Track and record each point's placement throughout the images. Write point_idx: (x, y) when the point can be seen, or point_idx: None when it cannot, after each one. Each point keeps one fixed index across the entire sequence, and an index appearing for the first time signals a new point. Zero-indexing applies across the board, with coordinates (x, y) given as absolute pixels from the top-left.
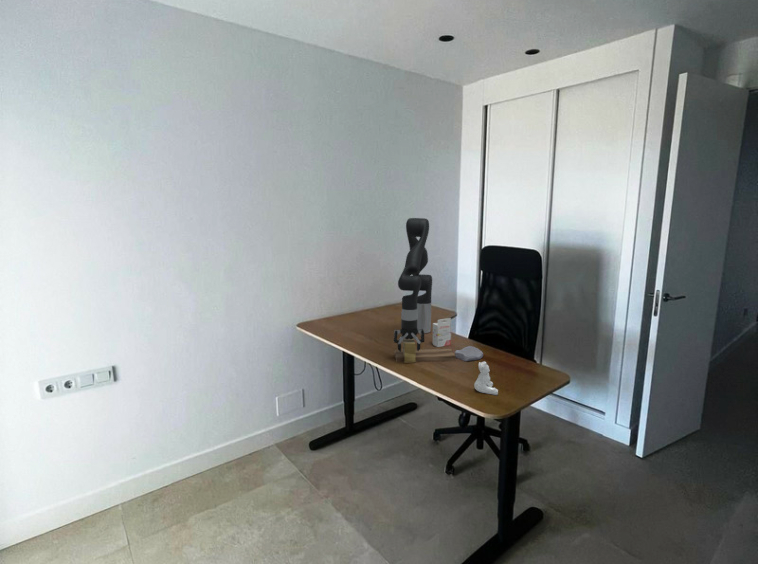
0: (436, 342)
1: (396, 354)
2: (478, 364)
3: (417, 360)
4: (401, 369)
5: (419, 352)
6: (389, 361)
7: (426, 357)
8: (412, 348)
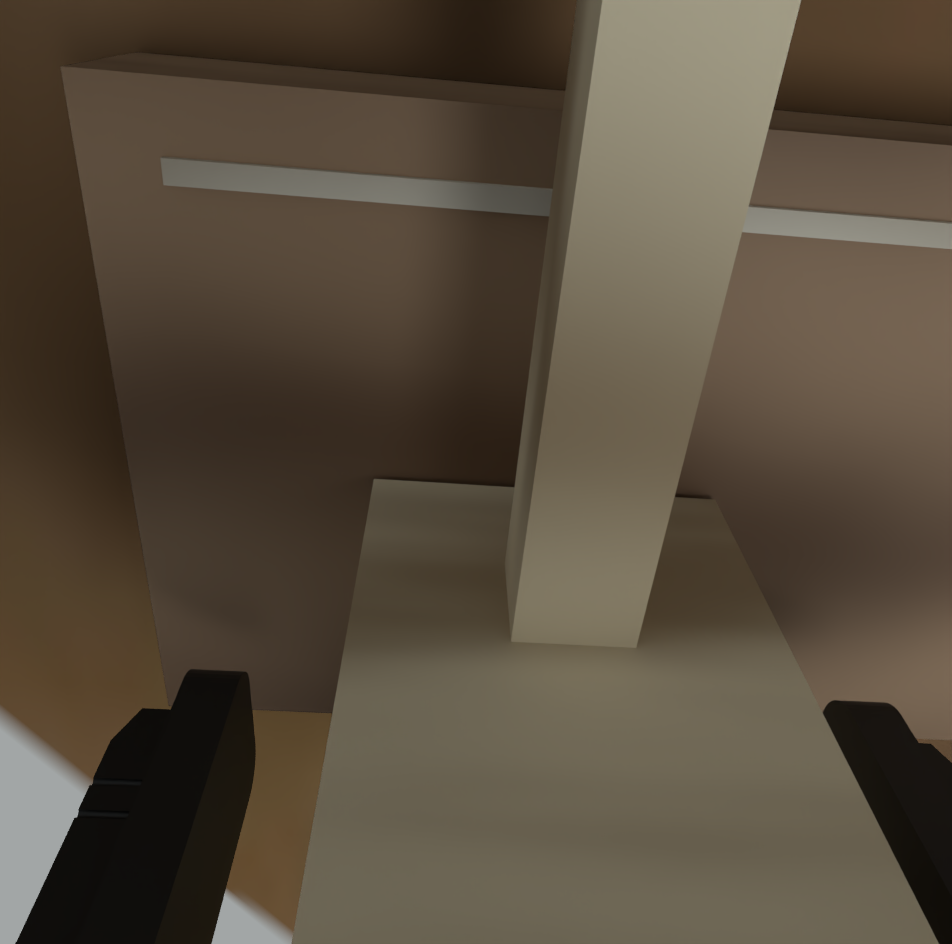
0: None
1: (155, 520)
2: None
3: None
4: (286, 865)
5: (936, 462)
6: (22, 546)
7: (930, 725)
8: None
